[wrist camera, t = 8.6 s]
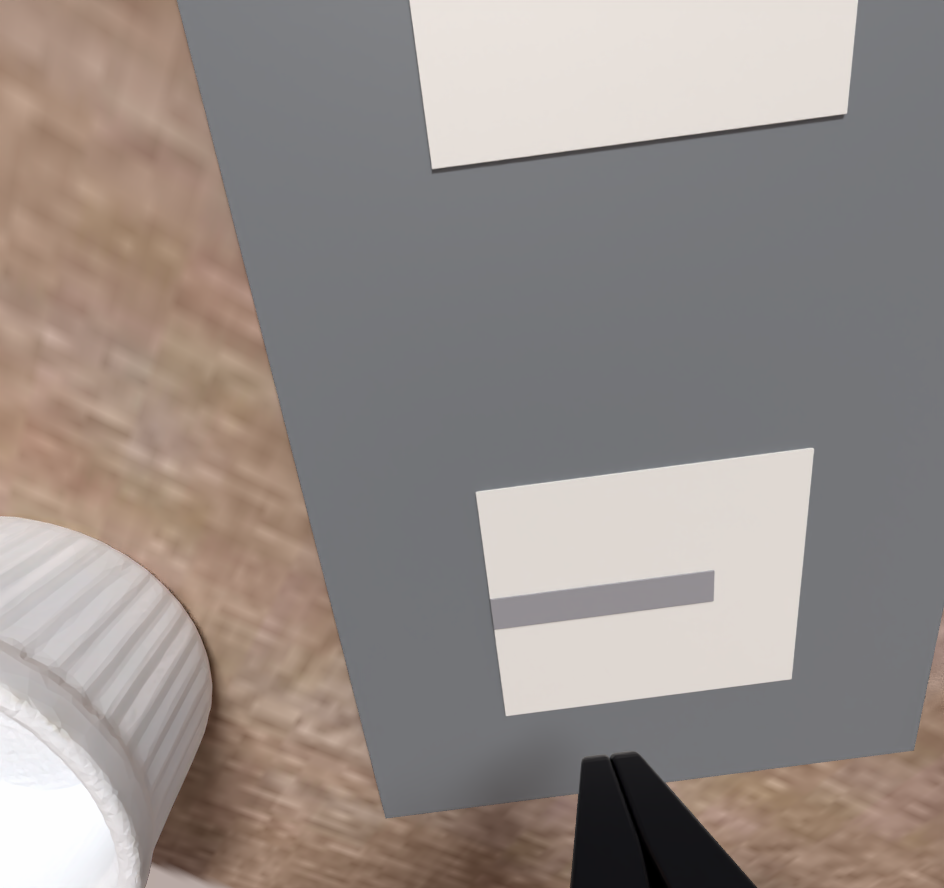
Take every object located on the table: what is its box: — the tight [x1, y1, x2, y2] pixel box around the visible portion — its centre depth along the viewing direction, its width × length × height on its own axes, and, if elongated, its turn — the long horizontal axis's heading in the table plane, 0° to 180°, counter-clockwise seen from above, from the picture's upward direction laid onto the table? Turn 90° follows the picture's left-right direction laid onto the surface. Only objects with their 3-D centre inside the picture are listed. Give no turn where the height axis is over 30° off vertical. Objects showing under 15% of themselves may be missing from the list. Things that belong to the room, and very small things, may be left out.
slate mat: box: [177, 0, 944, 818], centre depth 10 cm, size 14×24×1 cm, turn 7°
